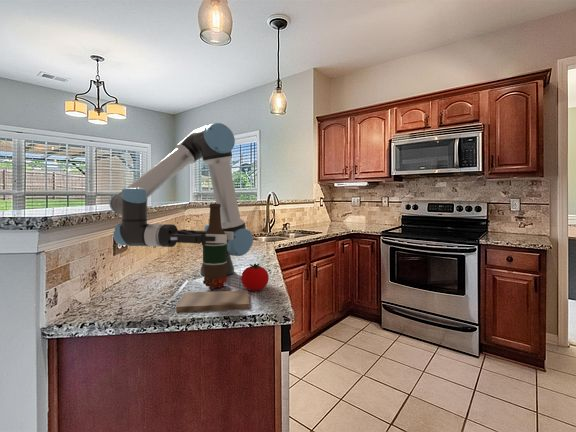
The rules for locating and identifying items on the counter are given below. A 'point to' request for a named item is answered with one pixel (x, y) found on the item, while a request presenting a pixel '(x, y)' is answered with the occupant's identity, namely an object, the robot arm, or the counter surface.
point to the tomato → (254, 277)
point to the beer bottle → (214, 247)
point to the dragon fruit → (215, 282)
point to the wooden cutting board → (213, 301)
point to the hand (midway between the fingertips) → (229, 237)
